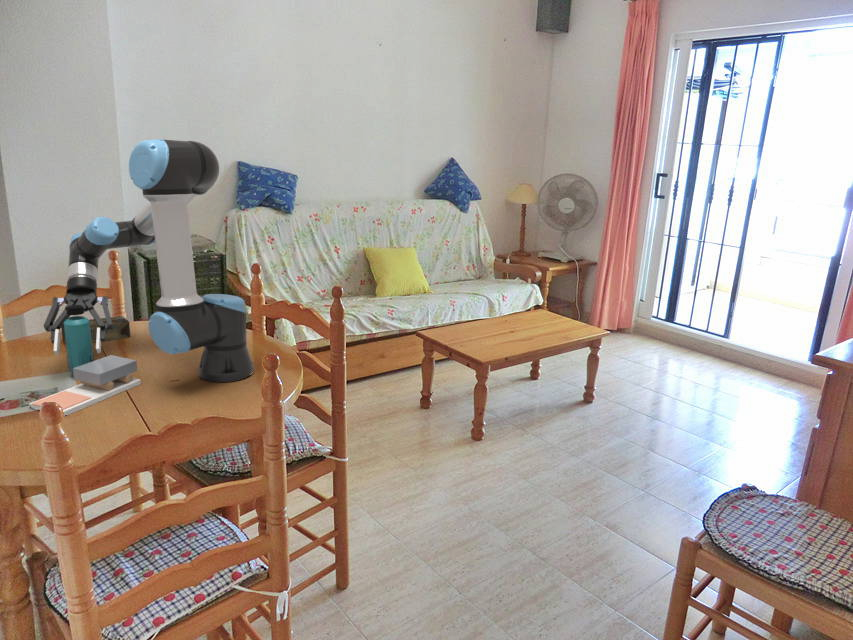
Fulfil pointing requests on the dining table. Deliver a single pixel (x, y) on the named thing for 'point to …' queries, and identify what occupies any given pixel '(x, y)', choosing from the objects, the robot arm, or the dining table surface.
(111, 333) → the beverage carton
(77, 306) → the beverage bottle
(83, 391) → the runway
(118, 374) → the slab
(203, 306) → the robot arm
